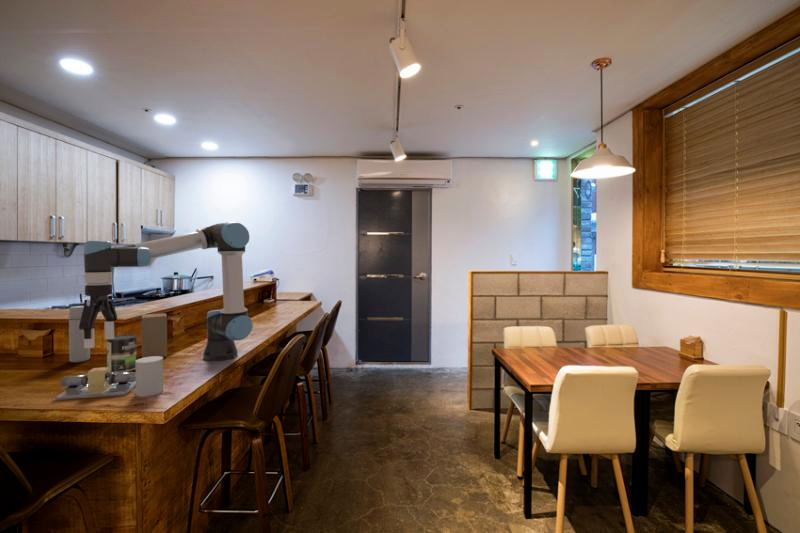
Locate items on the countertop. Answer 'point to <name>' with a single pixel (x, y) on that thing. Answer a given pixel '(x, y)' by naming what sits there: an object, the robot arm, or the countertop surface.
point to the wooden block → (154, 335)
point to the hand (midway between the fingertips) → (100, 343)
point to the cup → (149, 376)
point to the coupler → (98, 379)
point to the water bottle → (77, 337)
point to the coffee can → (122, 353)
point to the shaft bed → (79, 389)
